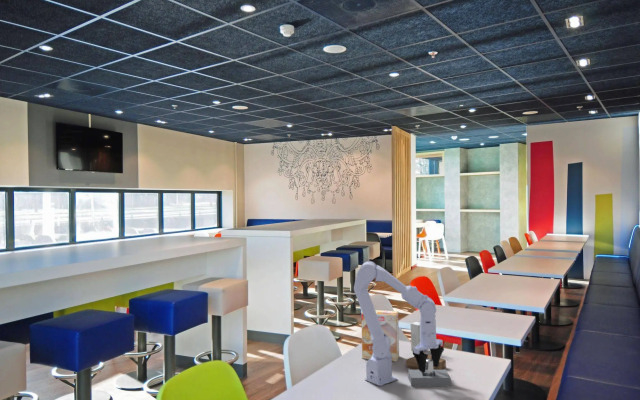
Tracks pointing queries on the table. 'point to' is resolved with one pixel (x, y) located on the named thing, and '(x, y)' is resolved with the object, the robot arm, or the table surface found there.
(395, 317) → the coffeecake box
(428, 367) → the metal axle
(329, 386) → the table surface
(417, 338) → the skincare box
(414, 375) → the bored beam
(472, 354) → the table surface
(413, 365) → the walnut seat block
